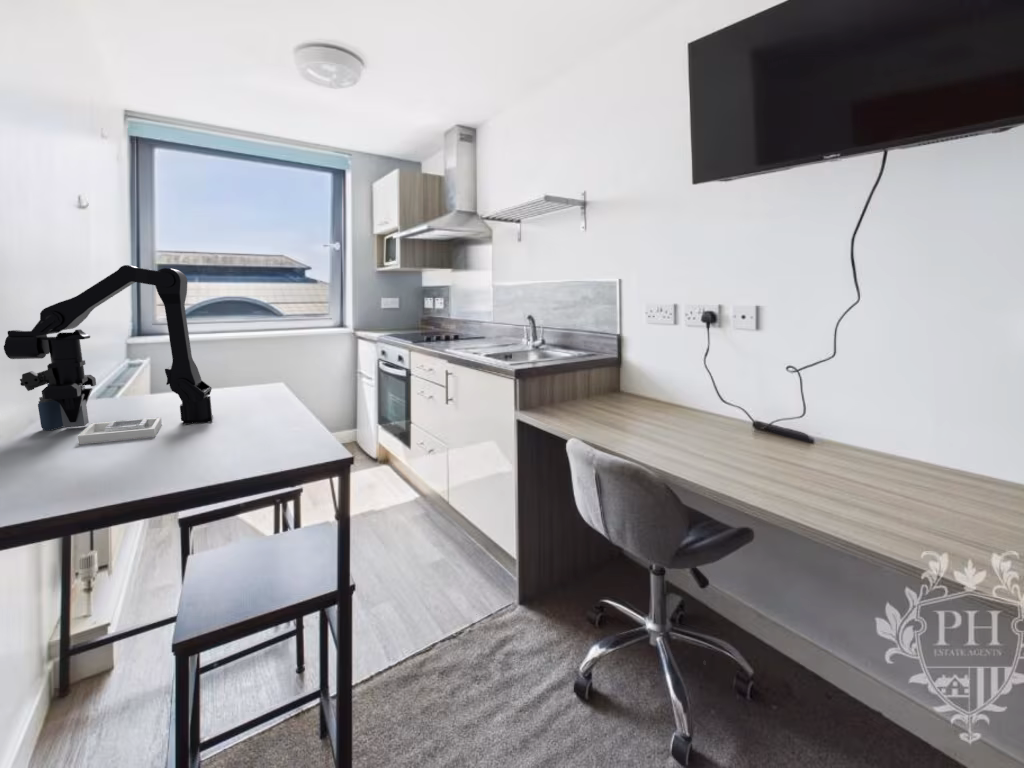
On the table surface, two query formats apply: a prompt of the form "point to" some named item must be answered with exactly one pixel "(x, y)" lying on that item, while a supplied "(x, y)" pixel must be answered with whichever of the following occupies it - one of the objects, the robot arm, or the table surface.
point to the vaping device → (49, 414)
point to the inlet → (127, 425)
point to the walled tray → (97, 432)
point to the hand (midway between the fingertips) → (75, 420)
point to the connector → (81, 419)
